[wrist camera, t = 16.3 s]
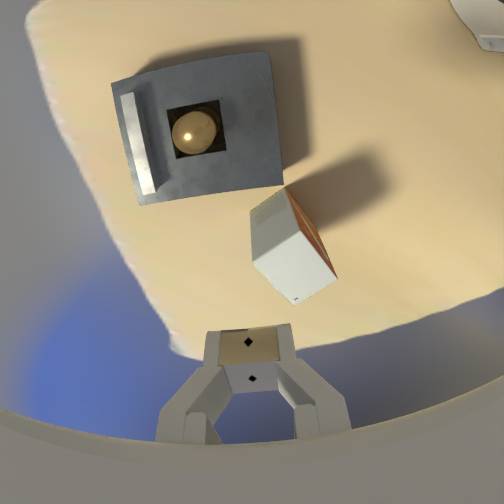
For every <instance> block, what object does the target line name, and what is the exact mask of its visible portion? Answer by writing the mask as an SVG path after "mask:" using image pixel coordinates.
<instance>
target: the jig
mask: <svg viewBox="0 0 504 504" xmlns="http://www.w3.org/2000/svg"><path fill="white" fill-rule="evenodd" d="M111 87H112V92H113V97H114V103H115V108H116V113H117V117H118V122H119V127H120V131H121V136H122V140H123V144H124V148H125V153H126V157H127V161H128V165H129V168H130V172H131V176H132V180H133V183H134V187H135V191H136V194H137V198H138V201H139V205H140V206H142V205H147V204H153V203H158V202H164V201H170V200H176V199H182V198H188V197H195V196H201V195H208V194H215V193H222V192H229V191H237V190H244V189H252V188H261V187H269V186H278V185H284V182H283V171H282V160H281V150H280V140H279V130H278V121H277V112H276V103H275V95H274V86H273V78H272V70H271V63H270V55H269V51H259V52H249V53H240V54H233V55H226V56H219V57H213V58H207V59H202V60H197V61H191V62H187V63H182V64H177V65H173V66H169V67H165V68H161V69H157V70H153V71H149V72H146V73H142V74H139V75H135V76H132V77H129V78H126V79H123V80H119V81H116V82H113V83H111ZM214 100H219V102H220V109H221V115H222V122H223V128H224V135H225V141H226V143H221V144H214V145H210V146H209V148H207V149H206V150H205V151H203V152H201V153H198V154H187V153H185V152H182V151H181V150H179V149H178V148H177V147H176V145H175V144H174V142H173V138H172V130H173V126H174V124H175V123H176V121H177V120H178V116H177V111H176V108H177V107H182V106H187V105H192V104H197V103H203V102H208V101H214Z"/></svg>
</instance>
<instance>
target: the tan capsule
mask: <svg viewBox="0 0 504 504" xmlns="http://www.w3.org/2000/svg"><path fill="white" fill-rule="evenodd" d="M219 128H220V119H219V116H218V115H217V113H216V112H215V111H214V110H212V109H210V108H206V107H201V108H197V109H195V110H193V111H191V112H189V113H187V114H186V115H184V116H182V117H180V118H179V119H178V120H177V121H176V123H175V124H174V126H173V130H172V138H173V142H174V144H175V145H176V147H177V148H178V149H179V150H181V151H182V152H185V153H187V154H198V153H201V152H203V151H205V150H206V149H207V148H209V146H210V145H211V144H212V142H213V140H214V138H215V136H216V134H217V132H218V130H219Z"/></svg>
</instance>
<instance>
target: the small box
mask: <svg viewBox="0 0 504 504" xmlns="http://www.w3.org/2000/svg"><path fill="white" fill-rule="evenodd" d="M250 230H251V250H252V263H253V265H254V266H255V267H256V268H257V269H258V270H259V271H260V272H261V273H262V274H263V275H264V277H265V278H266V279H267V280H268V281H269V282H270V283H271V284H272V286H273V287H274V288H275V289H277V290H278V291H279V292H280V293H281V294H282V295H283V296H284V297H285V298H286V299H287V300H288V301H289V302H290V303H291V304H292V305H293V306H294V305H296V304H297V303H299V302H301V301H303V300H305V299H306V298H308V297H310V296H311V295H313V294H315V293H316V292H318V291H319V290H321V289H323V288H324V287H326V286H327V285H329V284H331V283H332V282H334V281H335V280H337V279H338V278H337V275H336V273H335V271H334V269H333V266H332V264H331V262H330V259H329V257H328V254H327V252H326V250H325V248H324V245H323V243H322V241H321V238H320V236H319V234H318V231H317V229H316V227H315V226H314V224H313V223H312V222H311V221H310V220H309V218H308V217H307V216H306V214H305V213H304V212H303V210H302V209H301V208H300V207H299V205H298V204H297V203H296V201H295V200H294V199H293V197H292V196H291V195H290V193H289V192H288V191H287V189H286V188H285V187H284V188H282V189H281V190H280V191H278V192H277V193H275V194H274V195H273V196H271V197H270V198H269V199H267V200H266V201H264V202H263V203H261V204H260V205H259V206H257V207H256V208H255V209H253V210H252V211H250Z"/></svg>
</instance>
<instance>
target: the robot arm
mask: <svg viewBox="0 0 504 504" xmlns="http://www.w3.org/2000/svg"><path fill="white" fill-rule="evenodd" d="M450 2H451V4H452V6H453V8H454V9H455V11H456V13H457V14H458V16H459V17H460V18H461V20H462V21H463V22H464V23H465V25H466V26H467V27H468V28H469V29H470V30H471V31H472V32H473V34H474V35H475V37H476V39H477V41H478V43H479V45H480V47H481V48H482V49H483V50H485V51H495V52H504V0H450ZM489 44H490V45H489ZM270 390H279V392H280V393H281V394H282V395H283V396H284V398H285V399H286V400H287V401H288V402H289V404H290V405H291V406H292V407H293V408H294V435H295V439H293V440H285V441H276V442H263V443H249V444H222V441H221V439H220V438H219V436H218V434H217V433H216V431H215V429H214V428H213V425H214V423H215V422H216V420H217V419H218V417H219V416H220V414H221V413H222V411H223V410H224V408H225V406H226V405H227V403H228V402H229V400H230V399H231V397H232V396H233V395H232V394H236V393H247V392H257V391H270ZM0 504H504V375H503V376H501V377H499V378H497V379H495V380H493V381H491V382H489V383H487V384H485V385H483V386H481V387H479V388H477V389H475V390H472V391H470V392H468V393H466V394H463V395H461V396H458V397H456V398H454V399H451V400H449V401H446V402H443V403H441V404H438V405H436V406H433V407H430V408H427V409H424V410H421V411H418V412H415V413H412V414H409V415H406V416H403V417H400V418H396V419H392V420H389V421H385V422H381V423H378V424H374V425H370V426H365V427H361V428H357V429H352V428H351V424H350V420H349V416H348V411H347V407H346V403H345V399H344V397H343V396H342V395H341V394H340V393H339V392H338V391H336V390H335V389H334V388H333V387H332V386H331V385H330V384H329V383H327V382H326V381H325V380H324V379H323V378H322V377H321V376H320V375H318V374H317V373H316V372H315V371H314V370H313V369H312V368H311V367H310V366H308V365H307V364H306V363H305V362H304V361H303V360H302V359H301V358H299V359H296V352H295V346H294V340H293V335H292V329H291V325H290V323H288V324H281V325H272V326H264V327H256V328H249V329H236V330H221V331H208V332H207V334H206V341H205V350H204V359H203V367H199V368H198V369H197V370H196V371H195V372H194V373H193V374H192V376H191V377H190V378H189V379H188V380H187V381H186V382H185V384H184V385H183V386H182V387H181V388H180V389H179V390H178V391H177V393H176V394H175V395H174V396H173V397H172V398H171V399H170V400H169V401H168V403H167V404H166V405H165V406H164V407H163V408H162V409H161V410H160V414H159V420H158V426H157V432H156V439H155V442H147V441H138V440H129V439H122V438H115V437H109V436H103V435H97V434H92V433H87V432H82V431H77V430H73V429H68V428H64V427H60V426H56V425H52V424H49V423H45V422H41V421H38V420H35V419H32V418H28V417H25V416H22V415H19V414H16V413H13V412H11V411H8V410H5V409H2V408H0Z"/></svg>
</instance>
